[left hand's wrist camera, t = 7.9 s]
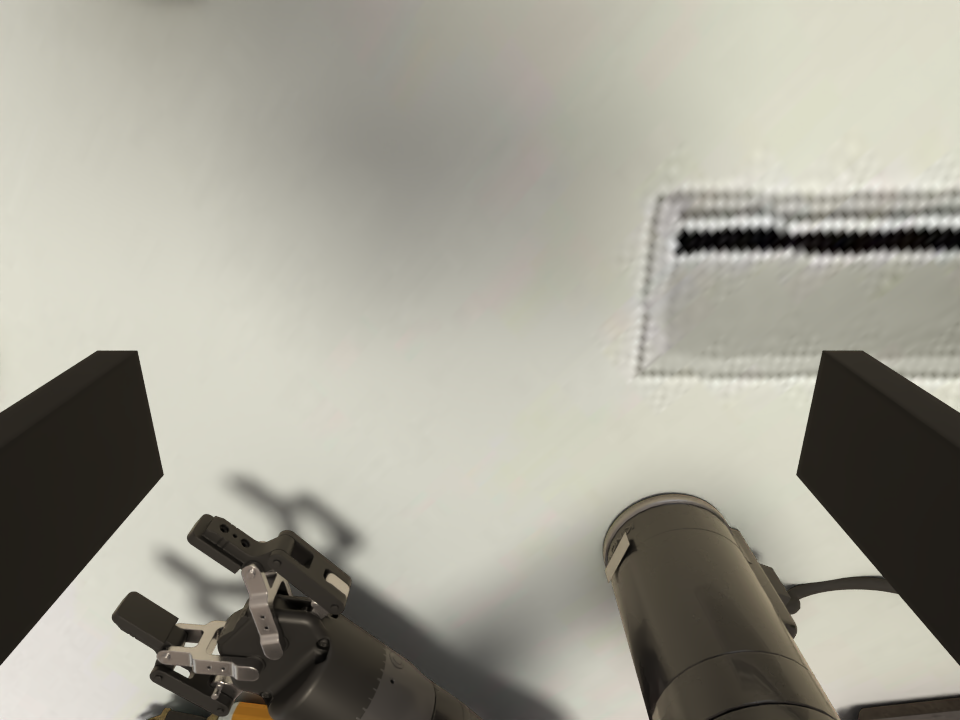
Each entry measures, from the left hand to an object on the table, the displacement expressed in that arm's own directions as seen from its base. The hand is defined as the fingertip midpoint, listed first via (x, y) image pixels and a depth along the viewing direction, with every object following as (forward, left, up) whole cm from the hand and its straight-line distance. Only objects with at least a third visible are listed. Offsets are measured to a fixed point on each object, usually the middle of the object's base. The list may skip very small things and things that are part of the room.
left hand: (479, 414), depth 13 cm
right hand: (+21, -21, -22) cm, 37 cm away
